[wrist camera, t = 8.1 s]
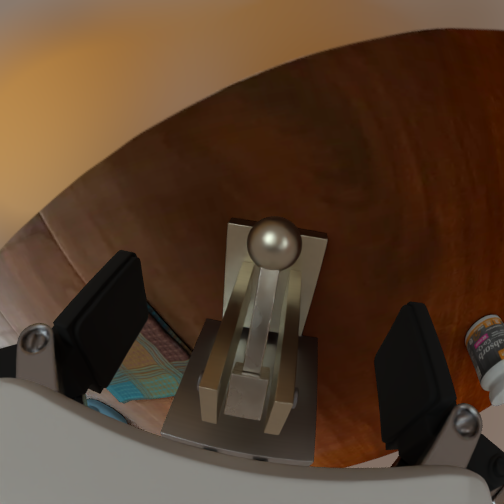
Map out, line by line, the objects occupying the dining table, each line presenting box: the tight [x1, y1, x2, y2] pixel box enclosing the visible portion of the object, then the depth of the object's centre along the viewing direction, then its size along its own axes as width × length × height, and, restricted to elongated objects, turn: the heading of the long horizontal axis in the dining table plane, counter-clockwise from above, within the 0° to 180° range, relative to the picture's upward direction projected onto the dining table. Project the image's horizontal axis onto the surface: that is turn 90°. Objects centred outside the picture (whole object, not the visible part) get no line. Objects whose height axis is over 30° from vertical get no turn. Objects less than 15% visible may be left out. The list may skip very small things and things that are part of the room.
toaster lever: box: [224, 216, 302, 421], centre depth 17 cm, size 12×3×3 cm
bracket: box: [197, 218, 328, 435], centre depth 21 cm, size 11×8×14 cm
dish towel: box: [107, 303, 192, 403], centre depth 36 cm, size 17×23×2 cm
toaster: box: [160, 319, 318, 466], centre depth 25 cm, size 7×12×14 cm, turn 84°
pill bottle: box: [465, 315, 504, 406], centre depth 21 cm, size 6×6×10 cm
